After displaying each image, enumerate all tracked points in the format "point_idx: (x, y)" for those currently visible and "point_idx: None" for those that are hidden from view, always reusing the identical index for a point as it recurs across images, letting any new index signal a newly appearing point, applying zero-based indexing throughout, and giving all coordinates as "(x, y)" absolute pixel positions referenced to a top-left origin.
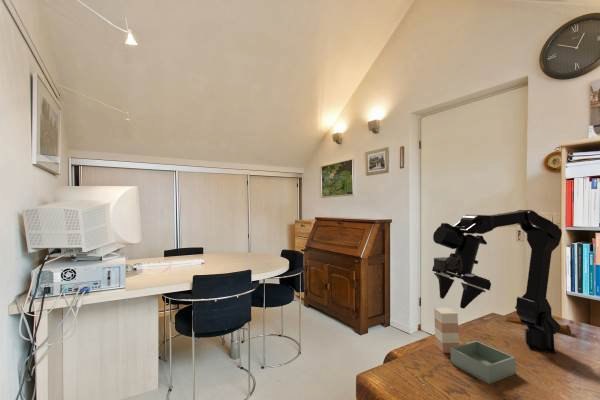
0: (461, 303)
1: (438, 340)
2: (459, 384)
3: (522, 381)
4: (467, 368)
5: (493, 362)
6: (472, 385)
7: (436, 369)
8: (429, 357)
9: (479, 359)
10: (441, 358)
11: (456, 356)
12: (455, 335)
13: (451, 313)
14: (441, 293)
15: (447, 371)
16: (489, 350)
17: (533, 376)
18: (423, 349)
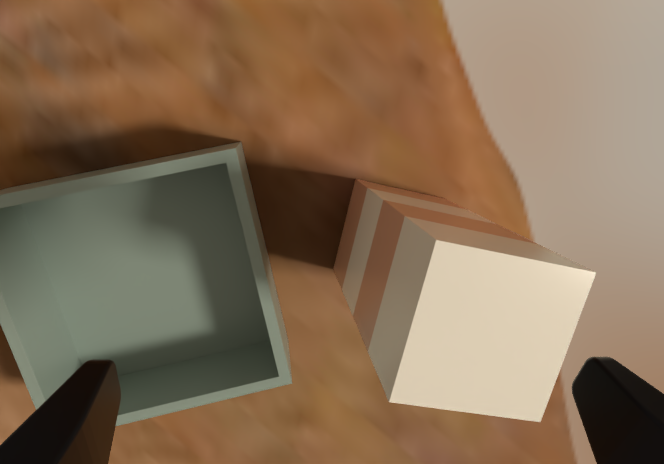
0: (56, 411)
1: (419, 198)
2: (22, 22)
3: (16, 364)
4: (127, 165)
5: (182, 357)
6: (5, 90)
7: (193, 3)
8: (327, 60)
9: (224, 310)
10: (300, 125)
11: (193, 154)
12: (355, 289)
13: (405, 342)
14: (643, 416)
15: (161, 54)
16: (199, 385)
17: None
18: (422, 90)
